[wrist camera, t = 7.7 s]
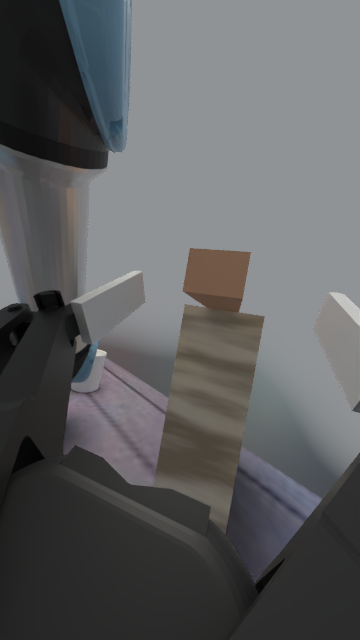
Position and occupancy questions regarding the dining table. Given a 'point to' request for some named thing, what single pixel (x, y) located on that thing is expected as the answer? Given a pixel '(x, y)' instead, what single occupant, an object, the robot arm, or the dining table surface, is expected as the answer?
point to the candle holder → (92, 375)
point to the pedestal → (209, 406)
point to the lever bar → (216, 278)
